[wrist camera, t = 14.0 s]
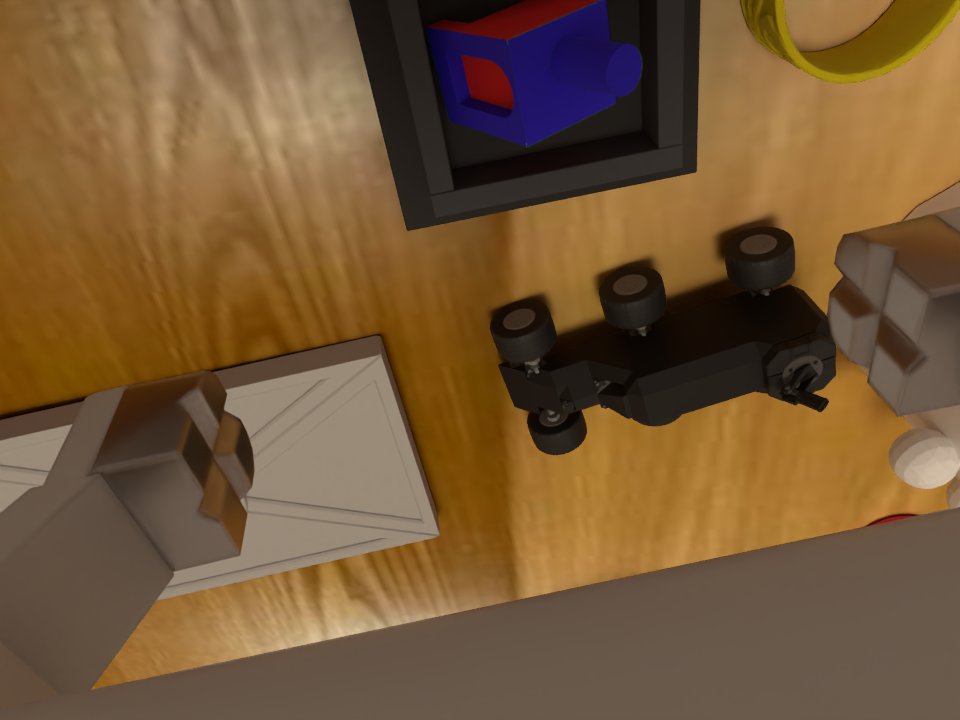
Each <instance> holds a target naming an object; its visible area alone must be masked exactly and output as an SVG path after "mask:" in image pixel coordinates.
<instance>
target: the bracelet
mask: <svg viewBox="0 0 960 720" xmlns="http://www.w3.org/2000/svg"><path fill="white" fill-rule="evenodd" d="M741 5H742V10H743V14H744V17H745V19H746V22H747V24H748V26H749V28H750V30H751V32H752V33H753V35H754V36H755V37H756V38H757V39H758V40H759V42H760V43H761V44H762V45H763V46H764V47H765V48H767V49H768V50H769V51H771V52H772V53H774V54H776V55H778V56H779V57H781V58H782V59H784V60H786V61H788V62H790V63H791V64H793V65H794V66H796V67H797V68H798V69H802V70H803V71H805V72H806V73H808V74H810V75H811V76H814V77H816V78H818V79H820V80H823V81H827V82H832V83H840V84H842V83H856V82H861V81H865V80H868V79H871V78H875V77H877V76H880V75H883V74H886V73H888V72H890V71H892V70H894V69H896V68H898V67H899V66H901V65H903V64H904V63H906V62H907V61H909V60H910V59H912V58H913V57H915V56H916V55H917V54H919V53H920V52H921V51H923V50H924V49H925V48H926V47H927V46H928V45H929V44H930V43H931V42H932V41H933V40H934V39H935V38H936V37H937V36H938V35H939V34H940V33H941V32H942V31H943V30H944V29H945V28H946V27H947V25H948V24H949V23H950V22H951V21H952V19H953V18H954V17H955V15H956V14H957V12H958V11H959V9H960V0H895V1H894V2H893V4H892V5H891V6H890V7H889V9H888V10H887V11H886V12H885V13H884V14H883V15H882V16H881V18H880V19H879V20H878V21H877V22H876V23H875V24H873V25H872V26H871V27H870V28H869V29H868V30H866V31H865V32H864V33H862V34H861V35H859V36H858V37H856V38H855V39H853V40H851V41H849V42H847V43H845V44H843V45H840V46H837V47H835V48H832V49H828V50H824V51H819V52H799V51H798V49H797V48H796V46H795V45H794V43H793V41H792V39H791V37H790V34H789V31H788V27H787V23H786V16H785V9H784V0H741Z"/></svg>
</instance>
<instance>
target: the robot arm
mask: <svg viewBox="0 0 960 720" xmlns="http://www.w3.org/2000/svg"><path fill="white" fill-rule="evenodd" d="M834 264H835V265H836V267H837V268H838V269H839V271H840V272H841V273H842V274H843V277H842V279H841V280H840V281H839V282H838V283H837V285H836V286H835V287H834V288H833V290H832V291H831V292H830V294H829V303H828V312H827V316H828V321H829V326H830V331H831V335H832V337H833V339H834V341H835V343H836V345H837V347H838V349H839V350H840V351H841V352H842V354H843V355H844V356H845V357H846V358H847V360H849V361H851V362H854V363H856V364H859V365H861V366H864V367H866V368H869V375H868V380H867V383H868V384H869V385H870V386H871V387H872V388H873V389H874V391H875V392H876V393H877V394H878V395H879V396H880V397H881V399H882V400H883V401H884V402H885V403H886V404H887V405H888V406H889V408H890V409H891V410H892V411H893V412H894V413H895V414H896V416H897V417H898V416H903V415H908V414H914V413H919V412H925V411H930V410H935V409H941V408H946V407H951V406H957V405H960V207H956V208H952V209H948V210H944V211H939V212H935V213H931V214H927V215H924V216H923V217H918V218H914V219H910V220H905V221H901V222H897V223H892V224H888V225H883V226H879V227H875V228H870V229H866V230H862V231H857V232H853V233H849V234H844V235H843V237H842V239H841V241H840V243H839V244H838V246H837V251H836V257H835V263H834ZM226 398H227V392H226V391H225V389H224V387H223V385H222V384H221V382H220V380H219V378H218V377H217V375H216V374H214V373H212V372H210V371H209V370H205V371H200V372H195V373H189V374H184V375H179V376H174V377H169V378H164V379H158V380H153V381H148V382H143V383H138V384H133V385H132V386H122V387H118V388H113V389H109V390H104V391H100V392H95V393H93V394H91V395H90V396H88V397H86V398H85V400H84V402H83V404H82V406H81V408H80V410H79V412H78V414H77V416H76V418H75V420H74V422H73V424H72V427H71V429H70V431H69V433H68V435H67V437H66V439H65V441H64V443H63V445H62V447H61V449H60V451H59V453H58V455H57V457H56V459H55V461H54V464H53V466H52V468H51V470H50V472H49V474H48V476H47V478H46V480H45V482H44V484H43V486H38V487H34V488H30V489H29V490H27V491H26V492H25V493H24V494H23V495H21V496H20V497H19V498H18V499H17V500H15V501H14V502H13V503H12V504H10V505H9V506H8V507H7V508H6V509H4V510H3V511H2V512H1V513H0V720H960V507H957V508H952V509H947V510H942V511H938V512H933V513H928V514H923V515H919V516H914V517H909V518H904V519H900V520H895V521H890V522H885V523H881V524H876V525H871V526H866V527H861V528H857V529H852V530H847V531H842V532H838V533H833V534H828V535H823V536H819V537H814V538H809V539H804V540H800V541H795V542H790V543H785V544H780V545H776V546H771V547H766V548H761V549H757V550H752V551H747V552H742V553H738V554H733V555H728V556H723V557H719V558H714V559H709V560H705V561H700V562H695V563H690V564H686V565H681V566H676V567H671V568H667V569H662V570H657V571H652V572H648V573H643V574H638V575H633V576H629V577H624V578H619V579H615V580H610V581H605V582H600V583H596V584H591V585H586V586H581V587H577V588H572V589H567V590H562V591H558V592H553V593H548V594H543V595H539V596H534V597H529V598H525V599H520V600H515V601H510V602H506V603H501V604H496V605H491V606H487V607H482V608H477V609H472V610H468V611H463V612H458V613H453V614H449V615H444V616H439V617H434V618H430V619H425V620H420V621H416V622H411V623H406V624H401V625H397V626H392V627H387V628H382V629H378V630H373V631H368V632H363V633H359V634H354V635H349V636H344V637H340V638H335V639H330V640H325V641H321V642H316V643H311V644H306V645H302V646H297V647H292V648H288V649H283V650H278V651H273V652H269V653H264V654H259V655H254V656H250V657H245V658H240V659H235V660H231V661H226V662H221V663H216V664H212V665H207V666H202V667H197V668H193V669H188V670H183V671H178V672H174V673H169V674H164V675H160V676H155V677H150V678H145V679H141V680H136V681H131V682H126V683H122V684H117V685H112V686H107V687H103V688H98V689H93V690H91V688H92V687H93V686H94V684H95V683H96V682H97V680H98V679H99V678H100V676H101V675H102V673H103V672H104V671H105V669H106V668H107V667H108V665H109V664H110V663H111V661H112V660H113V658H114V657H115V656H116V654H117V653H118V652H119V650H120V649H121V648H122V646H123V645H124V644H125V642H126V641H127V639H128V638H129V637H130V635H131V634H132V633H133V631H134V630H135V629H136V627H137V626H138V624H139V623H140V622H141V620H142V619H143V618H144V616H145V615H146V614H147V612H148V611H149V610H150V608H151V607H152V605H153V604H154V603H155V601H156V600H157V599H158V597H159V596H160V595H161V593H162V592H163V590H164V589H165V588H166V586H167V585H168V584H169V582H170V581H171V580H172V578H173V577H174V576H175V575H174V573H173V572H175V571H179V570H183V569H188V568H192V567H196V566H200V565H204V564H208V563H213V562H217V561H221V560H225V559H229V558H233V557H238V556H240V554H241V549H242V543H243V537H244V532H245V526H246V520H247V515H248V514H247V512H246V510H245V508H244V507H243V505H242V503H241V501H240V500H241V499H242V498H243V497H244V496H245V495H246V494H247V493H248V491H249V490H250V489H251V488H252V485H253V478H254V471H255V468H254V458H253V448H252V445H251V442H250V439H249V436H248V433H247V431H246V429H245V427H244V425H243V423H242V421H241V419H240V418H238V417H236V416H234V415H233V414H231V413H229V412H227V411H225V410H224V407H225V402H226Z"/></svg>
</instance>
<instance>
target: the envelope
mask: <svg viewBox="0 0 960 720" xmlns="http://www.w3.org/2000/svg"><path fill="white" fill-rule="evenodd" d="M212 373H214V374H216V375H217V377H218V378H219V380H220V382H221V384H222V385H223V387H224V389H225V391H226V392H227V398H226V402H225V407H224V410H225V411H227V412H229V413H231V414H233V415H234V416H236V417H238V418H240V419H241V421H242V423H243V425H244V427H245V429H246V431H247V433H248V436H249V439H250V442H251V445H252V448H253V458H254V468H255V471H254V478H253V485H252V488H251V489H250V490H249V491H248V493H247V494H246V495H245V496H244V497H243V498H242V499H241V500H240V501H241V503H242V505H243V507H244V508H245V510H246V512H247V514H248V515H247V520H246V526H245V532H244V537H243V543H242V549H241V554H240V556H238V557H233V558H229V559H225V560H221V561H217V562H213V563H208V564H204V565H200V566H196V567H192V568H188V569H183V570H179V571H175V572H173V573H174V575H175V576H174V577H173V578H172V580H171V581H170V582H169V584H168V585H167V586H166V588H165V589H164V590H163V592H162V593H161V595H160V596H159V597H158V599H157V600H162V599H166V598H170V597H175V596H179V595H184V594H188V593H192V592H197V591H201V590H206V589H210V588H214V587H219V586H223V585H228V584H232V583H236V582H241V581H245V580H250V579H254V578H259V577H263V576H267V575H272V574H276V573H281V572H285V571H289V570H294V569H298V568H303V567H307V566H311V565H316V564H320V563H325V562H329V561H334V560H338V559H342V558H347V557H351V556H356V555H360V554H364V553H369V552H373V551H378V550H382V549H386V548H391V547H395V546H400V545H404V544H409V543H413V542H417V541H422V540H426V539H431V538H435V537H438V536H439V535H440V530H439V522H438V514H437V511H436V508H435V505H434V502H433V498H432V495H431V492H430V489H429V486H428V483H427V480H426V477H425V473H424V470H423V467H422V464H421V461H420V458H419V455H418V452H417V448H416V445H415V442H414V439H413V436H412V433H411V430H410V427H409V423H408V420H407V417H406V414H405V411H404V408H403V405H402V402H401V398H400V395H399V392H398V389H397V386H396V383H395V380H394V377H393V373H392V370H391V367H390V364H389V361H388V358H387V355H386V352H385V348H384V345H383V342H382V339H381V336H377V335H376V336H372V337H367V338H363V339H358V340H354V341H350V342H345V343H341V344H336V345H332V346H327V347H323V348H318V349H314V350H310V351H305V352H301V353H296V354H292V355H287V356H283V357H278V358H274V359H270V360H265V361H261V362H256V363H252V364H247V365H243V366H238V367H234V368H230V369H225V370H221V371H216V372H212ZM83 402H84V401H83ZM83 402H78V403H74V404H70V405H65V406H61V407H56V408H52V409H47V410H43V411H38V412H34V413H30V414H25V415H21V416H16V417H12V418H7V419H3V420H0V513H1V512H2V511H3V510H4V509H6V508H7V507H8V506H9V505H10V504H12V503H13V502H14V501H15V500H17V499H18V498H19V497H20V496H21V495H23V494H24V493H25V492H26V491H27V490H29V489H30V488H34V487H38V486H43V484H44V482H45V480H46V478H47V476H48V474H49V472H50V470H51V468H52V466H53V464H54V461H55V459H56V457H57V455H58V453H59V451H60V449H61V447H62V445H63V443H64V441H65V439H66V437H67V435H68V433H69V431H70V429H71V427H72V424H73V422H74V420H75V418H76V416H77V414H78V412H79V410H80V408H81V406H82V404H83ZM157 600H156V601H157Z"/></svg>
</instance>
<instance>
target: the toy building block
mask: <svg viewBox="0 0 960 720" xmlns="http://www.w3.org/2000/svg"><path fill="white" fill-rule="evenodd" d="M426 31H427V35H428V39H429V43H430V47H431V51H432V55H433V59H434V63H435V67H436V71H437V75H438V79H439V83H440V87H441V91H442V95H443V99H444V103H445V107H446V111H447V115H448V119H449V121H450V122H453V123H456V124H459V125H462V126H465V127H468V128H471V129H474V130H477V131H480V132H483V133H486V134H489V135H492V136H495V137H498V138H501V139H504V140H507V141H510V142H513V143H516V144H519V145H522V146H525V147H529V146H531V145H533V144H535V143H537V142H539V141H541V140H543V139H545V138H547V137H549V136H551V135H553V134H555V133H557V132H559V131H561V130H563V129H565V128H567V127H569V126H571V125H573V124H575V123H577V122H579V121H581V120H583V119H585V118H587V117H589V116H591V115H593V114H595V113H597V112H599V111H601V110H603V109H605V108H607V107H609V106H612V105H614V104H616V103H617V96H620V97H622V96H626V95H628V94H629V93H631V92H632V91H633V90H634V89H635V87H636V86H637V85H638V83H639V80H640V78H641V75H642V69H643V62H642V56H641V54H640V51H639V50H638V49H637V48H636V47H635V46H634V45H631V44H625V43H618V42H611V35H610V25H609V16H608V6H607V0H525V1H522V2H520V3H517V4H515V5H512V6H510V7H508V8H505V9H503V10H500V11H498V12H495V13H493V14H490V15H488V16H486V17H483V18H481V19H478V20H476V21H473V22H471V23H464V22H457V21H449V20H442V21H439V22H437V23H435V24H432V25H430V26H427V27H426Z"/></svg>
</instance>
